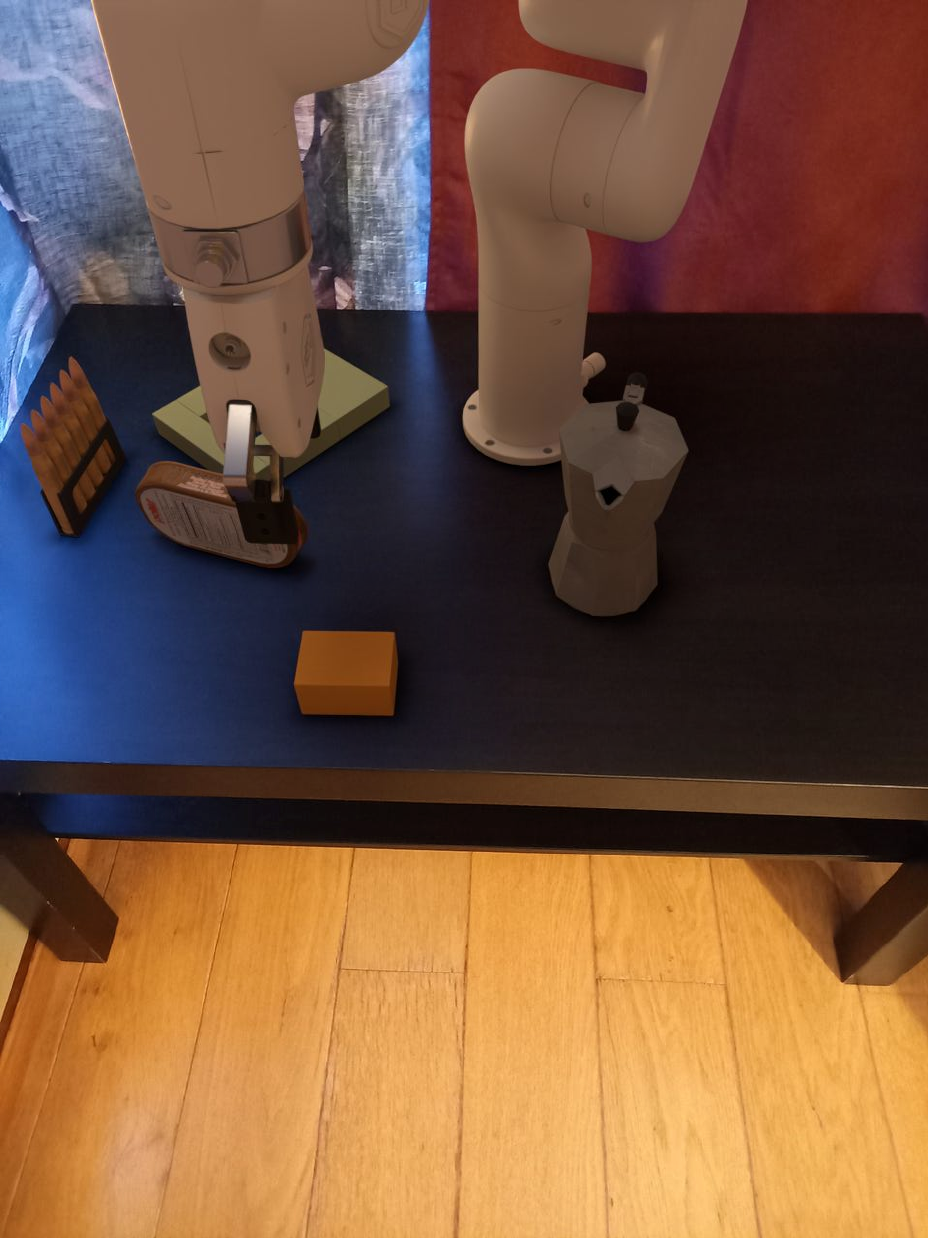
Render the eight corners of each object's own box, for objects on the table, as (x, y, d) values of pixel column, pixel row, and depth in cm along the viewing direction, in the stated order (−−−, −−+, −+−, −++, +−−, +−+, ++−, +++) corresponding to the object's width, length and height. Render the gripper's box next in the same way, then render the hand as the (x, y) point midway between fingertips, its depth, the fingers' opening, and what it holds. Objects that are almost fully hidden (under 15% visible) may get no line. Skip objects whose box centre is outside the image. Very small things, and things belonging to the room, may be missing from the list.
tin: (316, 557, 81) (302, 486, 75) (300, 584, 80) (284, 513, 73) (164, 518, 85) (137, 446, 78) (145, 542, 83) (116, 471, 76)
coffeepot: (646, 648, 75) (684, 480, 61) (530, 625, 76) (541, 457, 62) (670, 514, 84) (709, 342, 70) (567, 496, 86) (583, 325, 72)
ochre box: (301, 714, 71) (293, 684, 68) (310, 661, 74) (302, 630, 71) (393, 716, 71) (389, 686, 68) (398, 662, 74) (394, 631, 71)
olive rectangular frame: (297, 350, 100) (294, 330, 98) (390, 406, 94) (388, 386, 92) (158, 433, 92) (151, 413, 90) (250, 500, 86) (244, 480, 84)
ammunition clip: (78, 538, 83) (27, 432, 74) (59, 535, 83) (6, 430, 74) (126, 457, 90) (85, 351, 80) (108, 455, 90) (65, 349, 81)
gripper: (280, 329, 41) (326, 589, 54) (331, 148, 52) (359, 401, 65) (109, 327, 41) (197, 586, 54) (196, 147, 52) (251, 399, 65)
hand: (285, 485), depth 60 cm, fingers open, 9 cm apart
